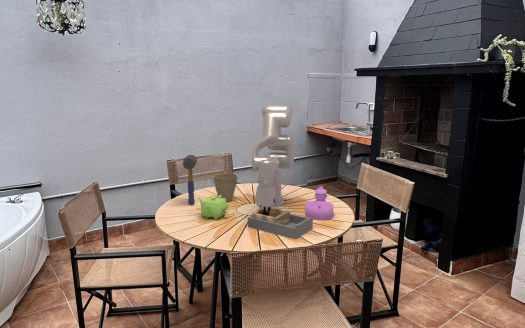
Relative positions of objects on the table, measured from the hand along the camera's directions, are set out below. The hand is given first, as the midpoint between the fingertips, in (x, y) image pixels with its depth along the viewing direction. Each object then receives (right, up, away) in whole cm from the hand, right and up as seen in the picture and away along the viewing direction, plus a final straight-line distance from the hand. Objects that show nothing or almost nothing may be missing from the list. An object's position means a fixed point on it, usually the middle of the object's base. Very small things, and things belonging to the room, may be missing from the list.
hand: (265, 218), depth 195 cm
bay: (+7, -4, -4) cm, 9 cm away
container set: (+31, 0, +19) cm, 36 cm away
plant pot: (-25, +5, +42) cm, 49 cm away
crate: (+3, -2, -2) cm, 4 cm away
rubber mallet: (-45, +3, +34) cm, 57 cm away
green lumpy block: (-28, -1, +13) cm, 31 cm away
